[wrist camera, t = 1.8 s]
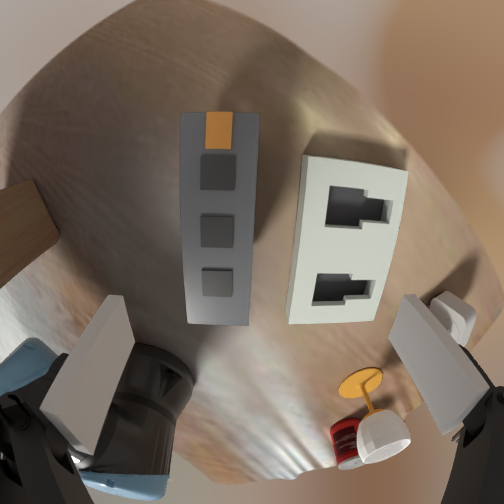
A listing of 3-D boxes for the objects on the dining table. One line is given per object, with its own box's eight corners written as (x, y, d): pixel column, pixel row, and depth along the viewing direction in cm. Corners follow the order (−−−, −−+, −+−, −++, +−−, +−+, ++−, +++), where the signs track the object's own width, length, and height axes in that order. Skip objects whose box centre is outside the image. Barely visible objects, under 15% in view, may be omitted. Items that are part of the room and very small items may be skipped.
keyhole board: (285, 310, 36) (288, 324, 33) (301, 154, 28) (308, 156, 25) (365, 308, 37) (373, 320, 34) (395, 167, 29) (408, 171, 26)
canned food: (350, 432, 53) (360, 467, 43) (323, 433, 52) (331, 471, 42) (367, 416, 50) (380, 453, 40) (339, 417, 49) (351, 458, 39)
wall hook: (395, 305, 36) (440, 342, 27) (436, 283, 38) (478, 310, 29) (388, 343, 39) (425, 380, 30) (428, 320, 41) (464, 348, 32)
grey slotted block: (203, 263, 32) (187, 325, 21) (204, 122, 25) (179, 112, 15) (246, 265, 32) (248, 328, 22) (252, 123, 26) (260, 112, 15)
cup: (387, 363, 42) (421, 430, 28) (375, 392, 46) (401, 454, 31) (342, 372, 42) (369, 448, 28) (334, 401, 46) (354, 469, 31)
